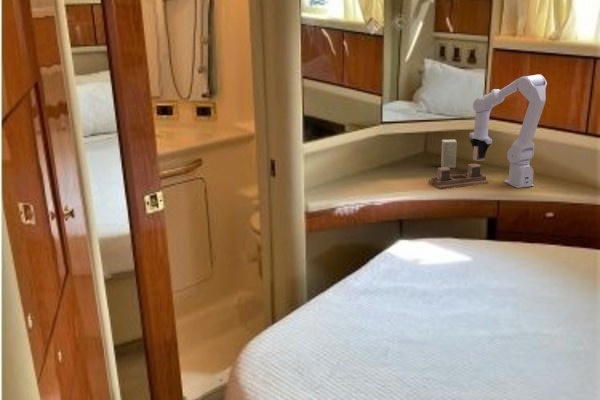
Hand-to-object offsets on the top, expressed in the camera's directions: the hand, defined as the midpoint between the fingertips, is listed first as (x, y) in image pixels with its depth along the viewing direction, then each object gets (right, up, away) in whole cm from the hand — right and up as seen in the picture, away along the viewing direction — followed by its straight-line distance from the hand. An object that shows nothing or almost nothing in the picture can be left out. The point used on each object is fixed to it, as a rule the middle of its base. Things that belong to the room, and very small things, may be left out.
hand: (479, 156), depth 255 cm
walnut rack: (-12, -12, -12) cm, 21 cm away
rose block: (0, -1, 0) cm, 2 cm away
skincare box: (-11, -4, +11) cm, 16 cm away
